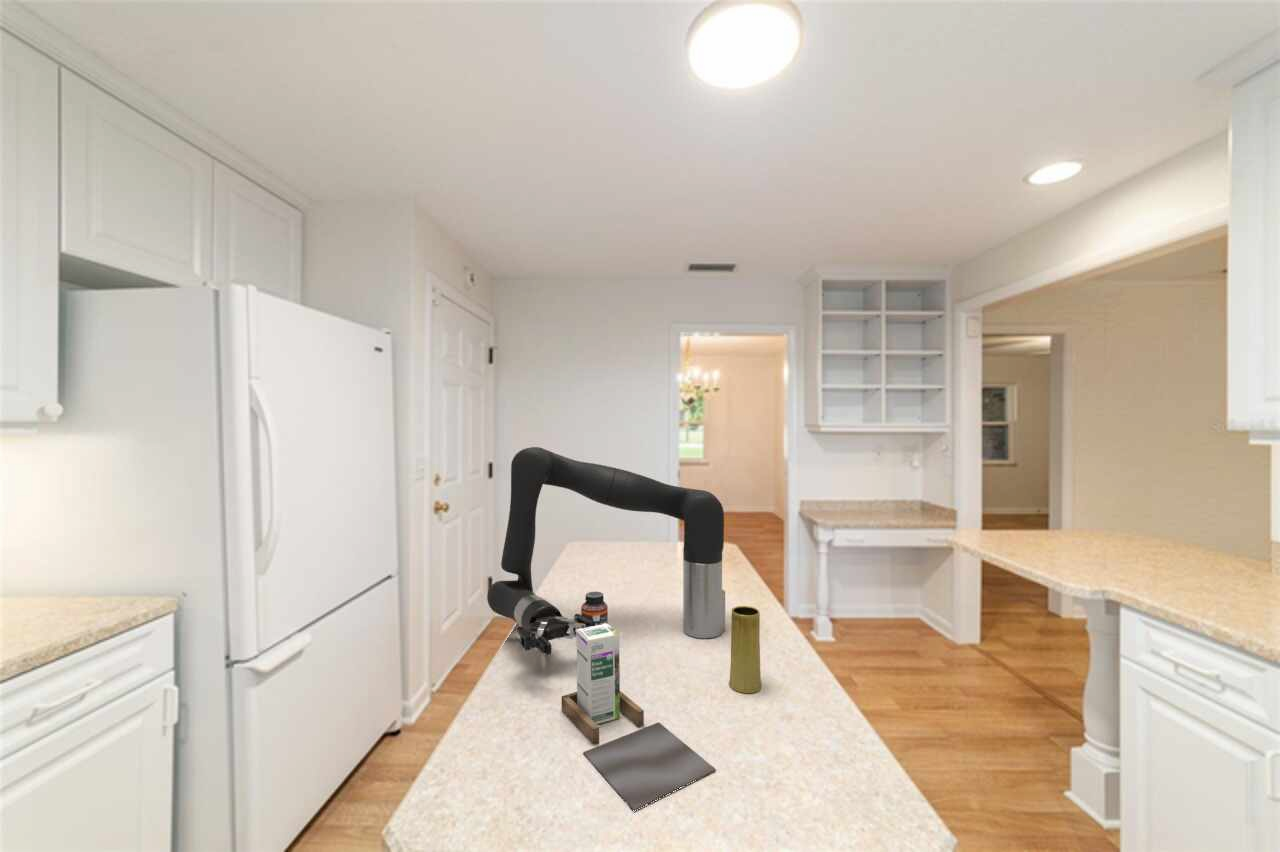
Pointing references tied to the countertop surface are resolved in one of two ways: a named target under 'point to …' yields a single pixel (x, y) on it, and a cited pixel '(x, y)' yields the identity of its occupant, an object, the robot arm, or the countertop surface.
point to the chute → (638, 756)
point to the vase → (745, 650)
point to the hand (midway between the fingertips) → (570, 644)
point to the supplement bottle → (595, 608)
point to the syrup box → (598, 672)
